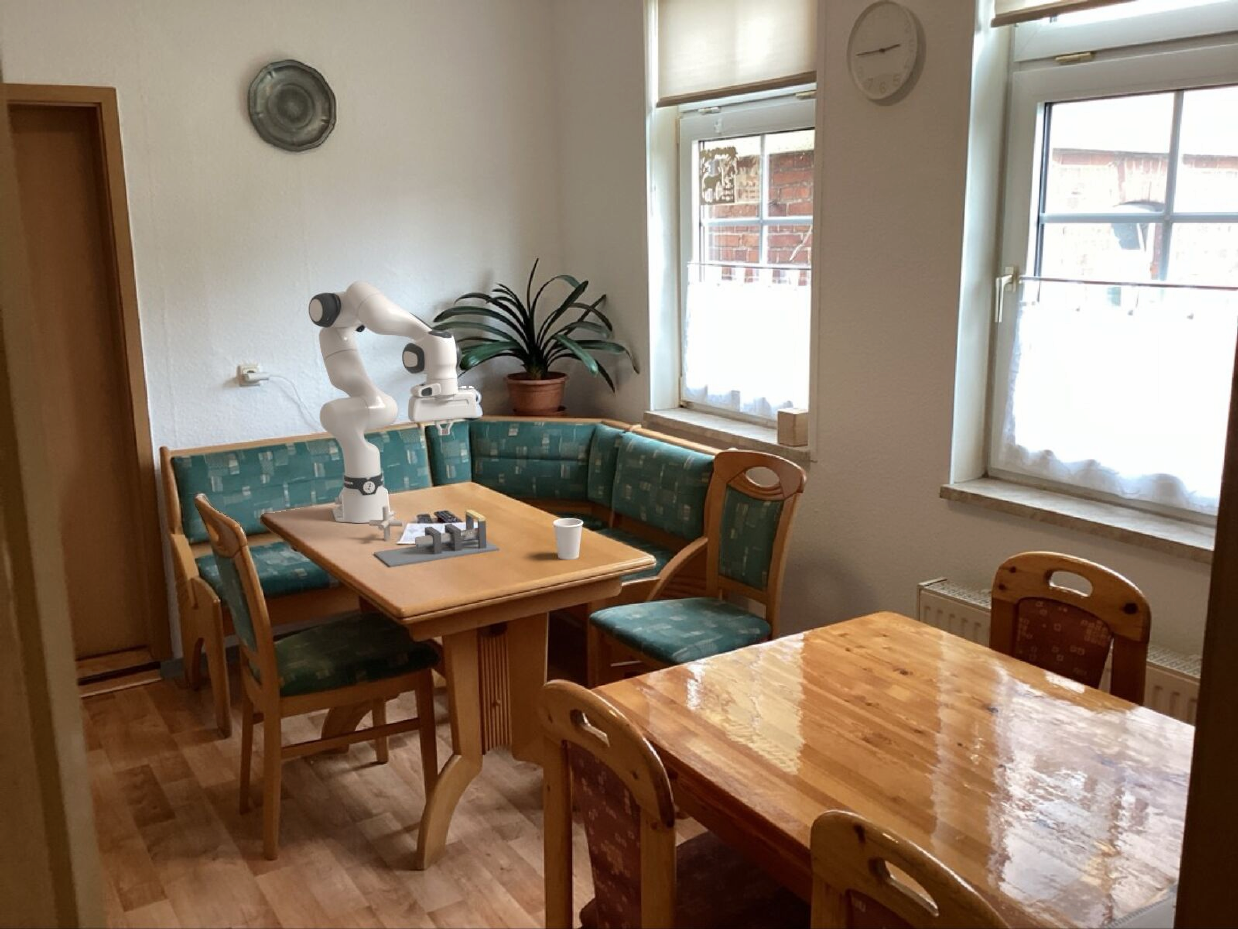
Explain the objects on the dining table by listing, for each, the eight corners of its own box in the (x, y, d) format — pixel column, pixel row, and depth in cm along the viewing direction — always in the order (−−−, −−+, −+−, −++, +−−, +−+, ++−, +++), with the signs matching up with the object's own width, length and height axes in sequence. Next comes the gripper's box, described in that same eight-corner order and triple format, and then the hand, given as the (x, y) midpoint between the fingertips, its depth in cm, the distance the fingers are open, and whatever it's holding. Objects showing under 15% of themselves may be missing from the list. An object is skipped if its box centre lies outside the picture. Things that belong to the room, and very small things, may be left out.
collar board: (374, 554, 301) (372, 521, 299) (479, 538, 317) (478, 506, 315) (390, 567, 289) (388, 533, 287) (498, 549, 305) (498, 517, 303)
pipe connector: (408, 535, 320) (407, 502, 318) (398, 544, 310) (397, 511, 308) (376, 534, 321) (374, 502, 319) (365, 543, 311) (363, 510, 309)
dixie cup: (563, 562, 292) (562, 527, 290) (548, 555, 299) (547, 520, 297) (589, 557, 297) (588, 523, 295) (573, 550, 304) (573, 516, 302)
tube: (415, 547, 301) (414, 535, 300) (480, 537, 311) (480, 525, 310) (419, 550, 298) (418, 538, 297) (485, 540, 308) (485, 528, 307)
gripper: (471, 383, 315) (473, 430, 318) (404, 388, 305) (407, 436, 308) (480, 386, 310) (481, 433, 313) (412, 391, 300) (414, 439, 303)
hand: (444, 434), depth 310 cm, fingers closed
